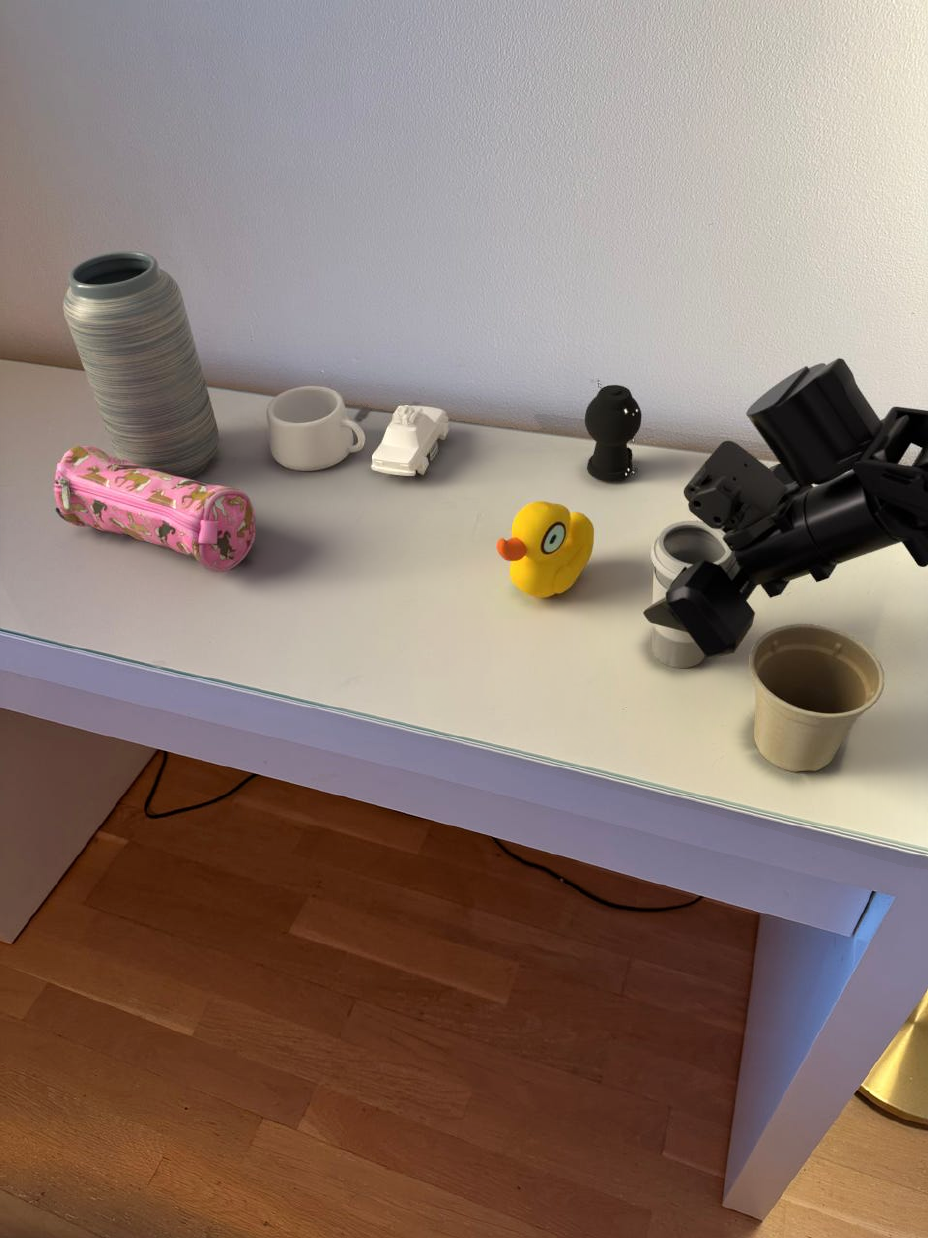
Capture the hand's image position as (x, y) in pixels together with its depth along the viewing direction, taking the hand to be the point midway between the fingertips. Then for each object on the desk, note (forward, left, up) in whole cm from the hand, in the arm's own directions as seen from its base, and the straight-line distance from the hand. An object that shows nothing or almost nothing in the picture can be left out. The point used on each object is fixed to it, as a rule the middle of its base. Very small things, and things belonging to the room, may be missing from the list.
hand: (670, 586), depth 78 cm
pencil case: (+51, +12, -7) cm, 52 cm away
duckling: (+13, -1, -7) cm, 14 cm away
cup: (-2, 0, -7) cm, 7 cm away
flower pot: (-13, +5, -7) cm, 16 cm away
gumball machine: (+16, -21, -7) cm, 27 cm away
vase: (+61, +1, -7) cm, 61 cm away
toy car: (+37, -13, -7) cm, 40 cm away
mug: (+47, -9, -7) cm, 48 cm away
